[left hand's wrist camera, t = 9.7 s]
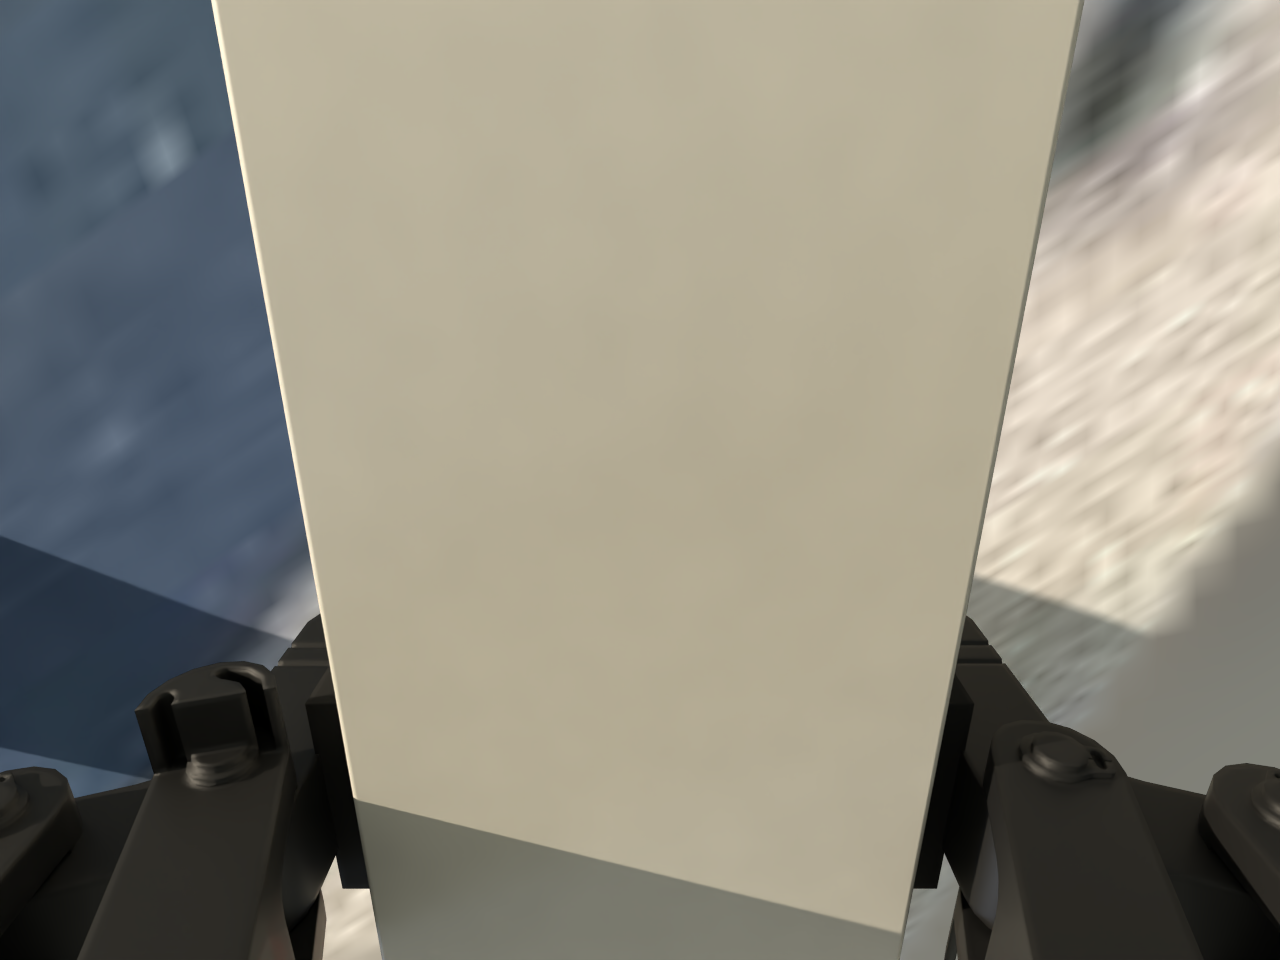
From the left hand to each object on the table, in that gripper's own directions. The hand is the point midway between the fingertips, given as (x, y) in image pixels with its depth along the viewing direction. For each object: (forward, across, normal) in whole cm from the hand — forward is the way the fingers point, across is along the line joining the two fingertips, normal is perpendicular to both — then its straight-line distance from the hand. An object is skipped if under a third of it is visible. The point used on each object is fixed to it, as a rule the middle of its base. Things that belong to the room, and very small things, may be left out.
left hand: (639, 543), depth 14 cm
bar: (+1, 0, -23) cm, 23 cm away
